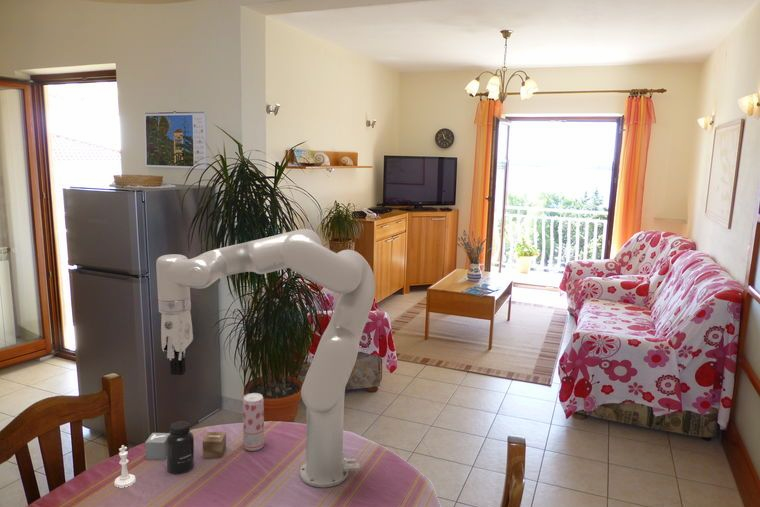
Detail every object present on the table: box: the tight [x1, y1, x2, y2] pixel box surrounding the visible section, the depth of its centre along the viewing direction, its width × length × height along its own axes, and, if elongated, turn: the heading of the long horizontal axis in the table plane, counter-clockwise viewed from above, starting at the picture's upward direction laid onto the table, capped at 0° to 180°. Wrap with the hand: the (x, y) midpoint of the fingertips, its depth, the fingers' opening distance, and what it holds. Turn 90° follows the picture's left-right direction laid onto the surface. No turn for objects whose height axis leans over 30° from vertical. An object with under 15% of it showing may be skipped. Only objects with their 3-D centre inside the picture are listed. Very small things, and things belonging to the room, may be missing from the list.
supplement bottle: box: [166, 420, 195, 475], centre depth 144 cm, size 7×7×12 cm
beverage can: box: [242, 392, 265, 452], centre depth 155 cm, size 6×6×15 cm
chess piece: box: [114, 444, 137, 489], centre depth 137 cm, size 5×5×10 cm
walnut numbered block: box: [202, 431, 227, 459], centre depth 152 cm, size 5×5×5 cm
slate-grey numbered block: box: [144, 432, 170, 460], centre depth 150 cm, size 5×5×5 cm
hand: (178, 373), depth 140 cm, fingers closed
